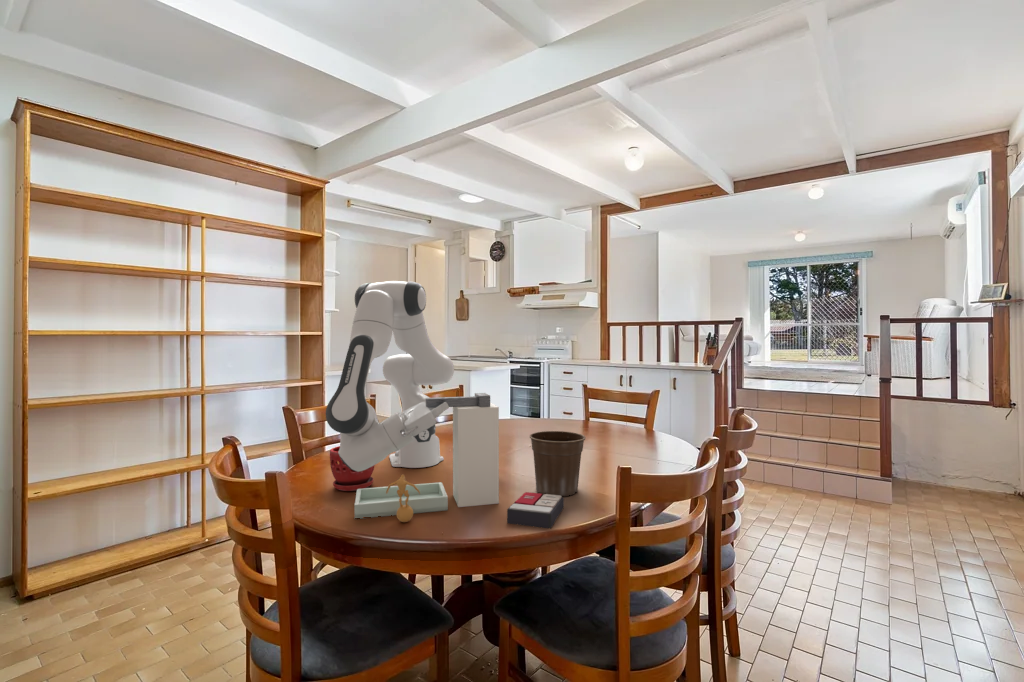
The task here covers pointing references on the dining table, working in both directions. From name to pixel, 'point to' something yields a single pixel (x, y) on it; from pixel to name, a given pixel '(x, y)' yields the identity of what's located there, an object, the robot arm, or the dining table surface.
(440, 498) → the tray
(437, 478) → the dining table surface
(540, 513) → the dark grey box
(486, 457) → the post
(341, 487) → the plant pot
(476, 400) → the stop bar
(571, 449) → the plant pot
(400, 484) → the figurine
